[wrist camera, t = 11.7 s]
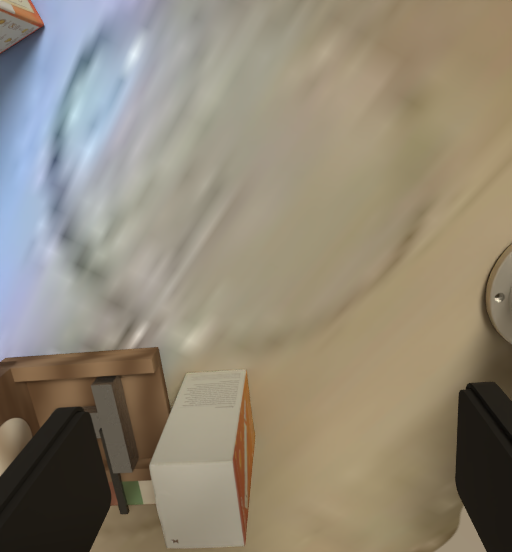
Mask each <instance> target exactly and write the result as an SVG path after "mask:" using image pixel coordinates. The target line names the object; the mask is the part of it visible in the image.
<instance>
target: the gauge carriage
mask: <svg viewBox="0 0 512 552" xmlns="http://www.w3.org/2000/svg"><path fill="white" fill-rule="evenodd" d="M91 389H92V393H93V396H94V400H95V404H96V406H85V407H82V408H83V409H84V411H85V412H89V413H90V415H91V418H92V422H93V426H94V430H95V433H96V437H97V438H101V441H102V444H103V448H104V452H105V456H106V460H107V464H108V468H109V471H110V475H111V479H112V483H113V487H114V491H115V494H116V498H117V502H118V506H119V510H120V514H128V513H129V508H128V504H127V500H126V496H125V492H124V488H123V484H122V480H121V476H120V473H132V472H133V470H134V468H135V466H136V463H137V461H138V459H139V455H138V451H137V447H136V442H135V438H134V434H133V429H132V425H131V421H130V416H129V412H128V408H127V403H126V399H125V395H124V391H123V386H122V382H121V378H120V375H113V376H98V377H97V378H96V379H95V381H94V382H93V383H92V385H91ZM56 409H57V408H56ZM56 409H55V410H56ZM55 410H54V411H55ZM54 411H53V412H54ZM53 412H52V413H53ZM52 413H51V415H52ZM51 415H50V416H51Z"/></svg>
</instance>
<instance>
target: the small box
mask: <svg viewBox="0 0 512 552" xmlns="http://www.w3.org/2000/svg"><path fill="white" fill-rule="evenodd" d="M254 444H255V432H254V426H253V419H252V412H251V405H250V396H249V387H248V378H247V370H246V369H240V370H225V371H207V372H194V373H186V375H185V377H184V380H183V382H182V385H181V387H180V390H179V392H178V395H177V397H176V400H175V402H174V405H173V407H172V410H171V412H170V415H169V417H168V419H167V422H166V424H165V427H164V429H163V432H162V434H161V437H160V440H159V442H158V444H157V447H156V449H155V452H154V454H153V457H152V459H151V462H150V464H149V469H150V475H151V480H152V485H153V489H154V495H155V500H156V507H157V512H158V516H159V519H160V522H161V526H162V530H163V535H164V539H165V543H166V547H167V548H215V547H236V546H245V543H246V529H247V518H248V507H249V497H250V486H251V474H252V463H253V455H254Z"/></svg>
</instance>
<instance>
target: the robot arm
mask: <svg viewBox="0 0 512 552" xmlns="http://www.w3.org/2000/svg"><path fill="white" fill-rule="evenodd" d="M495 295H496V296H495ZM486 307H487V312H488V315H489V318H490V321H491V323H492V324H493V326H494V327H495V329H496V331H497V332H498V333H499V334H500V335H501V336H502V337H503V338H504V339H505V340H506V341H508V342H509V343H510V344H511V345H512V244H511V245H510V246H509V247H508V248H507V249H506V250H505V252H504V253H503V254H502V255H501V257H500V258H499V259H498V261H497V262H496V264H495V266H494V268H493V270H492V272H491V274H490V277H489V280H488V284H487V289H486ZM455 480H456V487H457V491H458V494H459V496H460V498H461V500H462V502H463V504H464V506H465V508H466V510H467V513H468V515H469V517H470V518H471V521H472V523H473V525H474V527H475V529H476V531H477V533H478V535H479V537H480V539H481V541H482V543H483V545H484V547H485V549H486V551H487V552H512V401H511V400H510V399H509V398H508V397H507V395H506V394H505V393H504V392H503V391H502V390H501V389H500V387H499V386H498V385H497V384H496V383H495V382H481V383H469V384H467V386H466V390H460V392H459V403H458V427H457V451H456V476H455ZM110 505H111V490H110V486H109V483H108V479H107V475H106V471H105V467H104V464H103V460H102V456H101V452H100V448H99V445H98V441H97V437H96V433H95V430H94V426H93V422H92V418H91V415H90V413H89V412H85V411H84V409H83V408H82V407H80V406H78V407H61V408H57V409H56V410H55V411H54V412H53V413H52V415H51V416H50V417H49V418H48V419H47V421H46V422H45V423H44V424H43V425H42V427H41V428H40V429H39V430H38V431H37V433H36V434H35V435H34V436H33V437H32V439H31V440H30V441H29V442H28V443H27V445H26V446H25V447H24V448H23V449H22V451H21V452H20V453H19V454H18V456H17V457H16V458H15V459H14V460H13V462H12V463H11V464H10V465H9V466H8V468H7V469H6V470H5V471H4V472H3V474H2V475H1V476H0V552H89V551H90V549H91V547H92V545H93V543H94V541H95V538H96V536H97V534H98V532H99V530H100V528H101V526H102V523H103V521H104V519H105V517H106V515H107V513H108V511H109V508H110Z"/></svg>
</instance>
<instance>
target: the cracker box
mask: <svg viewBox="0 0 512 552" xmlns="http://www.w3.org/2000/svg"><path fill="white" fill-rule="evenodd" d="M43 26H44V23H43V21H42V19H41V18H40V16H39V14H38V12H37V11H36V9H35V7H34V5H33V4H32V2H31V0H0V54H1V53H2V52H4V51H5V50H7V49H8V48H10V47H12V46H13V45H15V44H16V43H18V42H19V41H21V40H22V39H24V38H25V37H27V36H28V35H30V34H32V33H33V32H35V31H36V30H37V29H39V28H41V27H43Z"/></svg>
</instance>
